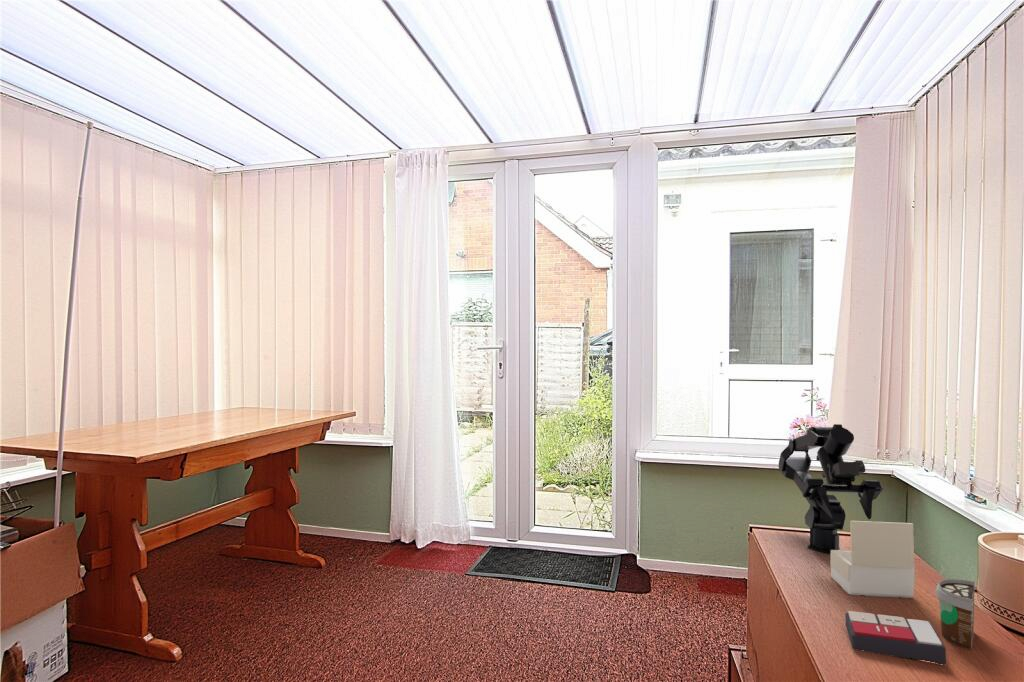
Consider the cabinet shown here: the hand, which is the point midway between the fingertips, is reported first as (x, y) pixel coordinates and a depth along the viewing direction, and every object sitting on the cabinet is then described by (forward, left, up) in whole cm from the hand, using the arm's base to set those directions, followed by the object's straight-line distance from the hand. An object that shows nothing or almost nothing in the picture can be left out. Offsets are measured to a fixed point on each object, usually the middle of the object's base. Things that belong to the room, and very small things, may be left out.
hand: (851, 517), depth 156 cm
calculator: (+21, -34, -14) cm, 42 cm away
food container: (+27, -20, -14) cm, 37 cm away
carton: (+7, -8, -14) cm, 17 cm away
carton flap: (+11, -11, -2) cm, 15 cm away
